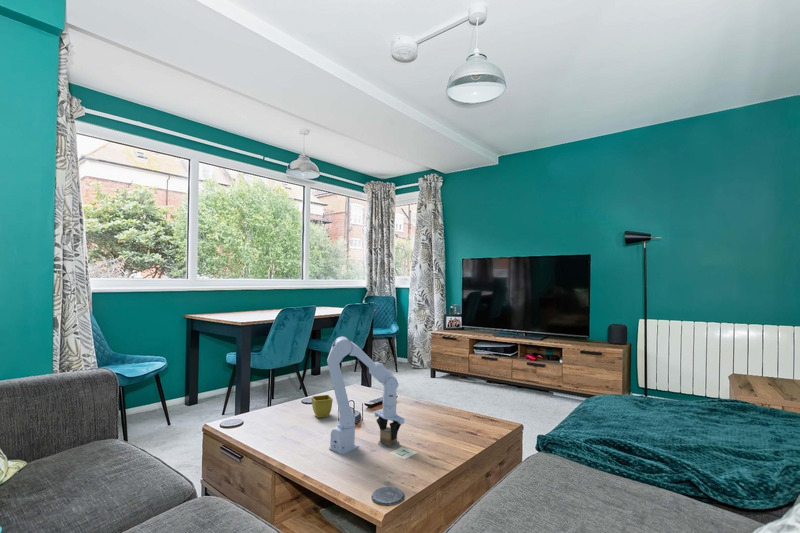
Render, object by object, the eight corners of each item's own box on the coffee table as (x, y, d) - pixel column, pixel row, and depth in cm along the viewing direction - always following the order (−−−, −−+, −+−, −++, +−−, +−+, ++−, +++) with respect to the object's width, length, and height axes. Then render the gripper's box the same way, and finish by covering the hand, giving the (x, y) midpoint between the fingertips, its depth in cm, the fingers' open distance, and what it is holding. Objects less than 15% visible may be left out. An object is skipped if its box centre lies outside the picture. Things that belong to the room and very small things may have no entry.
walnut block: (389, 445, 161) (389, 433, 161) (380, 442, 164) (380, 430, 164) (397, 442, 165) (397, 429, 165) (387, 438, 168) (388, 426, 168)
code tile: (405, 460, 150) (405, 459, 150) (388, 454, 155) (388, 453, 156) (417, 453, 157) (417, 452, 157) (401, 447, 162) (401, 446, 162)
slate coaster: (390, 450, 158) (390, 449, 158) (373, 444, 164) (373, 443, 164) (404, 443, 165) (404, 442, 165) (387, 438, 171) (387, 437, 171)
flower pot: (310, 414, 199) (311, 396, 200) (327, 412, 203) (328, 394, 203) (314, 420, 191) (315, 401, 192) (332, 417, 195) (333, 399, 195)
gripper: (409, 405, 164) (408, 439, 163) (382, 398, 173) (382, 430, 172) (398, 410, 158) (397, 444, 158) (371, 402, 167) (370, 435, 167)
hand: (388, 437), depth 165 cm, fingers closed on walnut block, 5 cm apart
